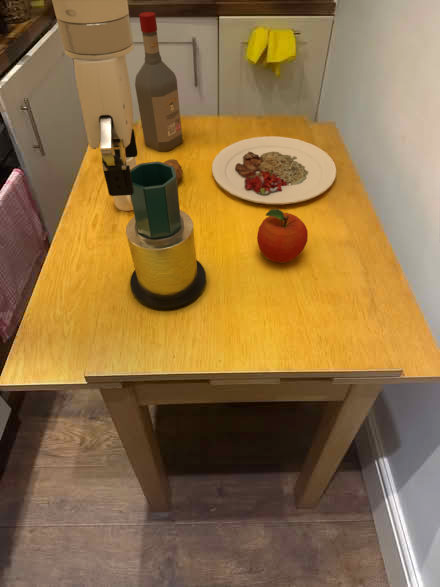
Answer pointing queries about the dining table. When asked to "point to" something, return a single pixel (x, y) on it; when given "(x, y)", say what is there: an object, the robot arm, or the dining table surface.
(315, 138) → the dining table surface
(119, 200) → the mug
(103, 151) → the robot arm
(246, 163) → the plated food
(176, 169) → the croissant
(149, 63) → the liquor
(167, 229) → the teal cup
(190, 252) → the towel holder
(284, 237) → the fruit
